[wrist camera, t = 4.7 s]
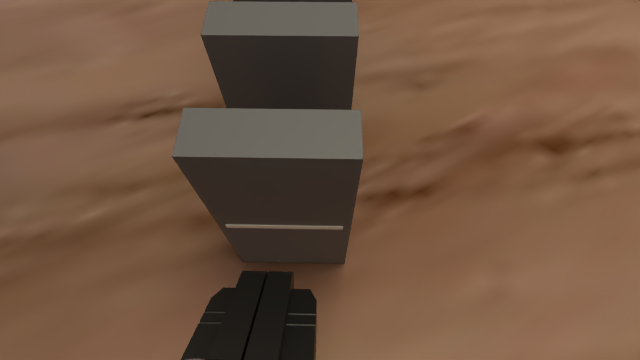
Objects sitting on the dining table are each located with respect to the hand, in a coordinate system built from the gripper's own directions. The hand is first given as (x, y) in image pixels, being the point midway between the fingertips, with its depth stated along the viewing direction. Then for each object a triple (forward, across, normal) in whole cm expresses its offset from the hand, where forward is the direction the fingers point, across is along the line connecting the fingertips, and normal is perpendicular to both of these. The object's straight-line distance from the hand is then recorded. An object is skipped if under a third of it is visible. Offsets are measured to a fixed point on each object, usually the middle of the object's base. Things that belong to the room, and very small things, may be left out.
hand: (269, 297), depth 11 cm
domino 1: (+11, 0, -1) cm, 11 cm away
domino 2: (+8, 0, +2) cm, 8 cm away
